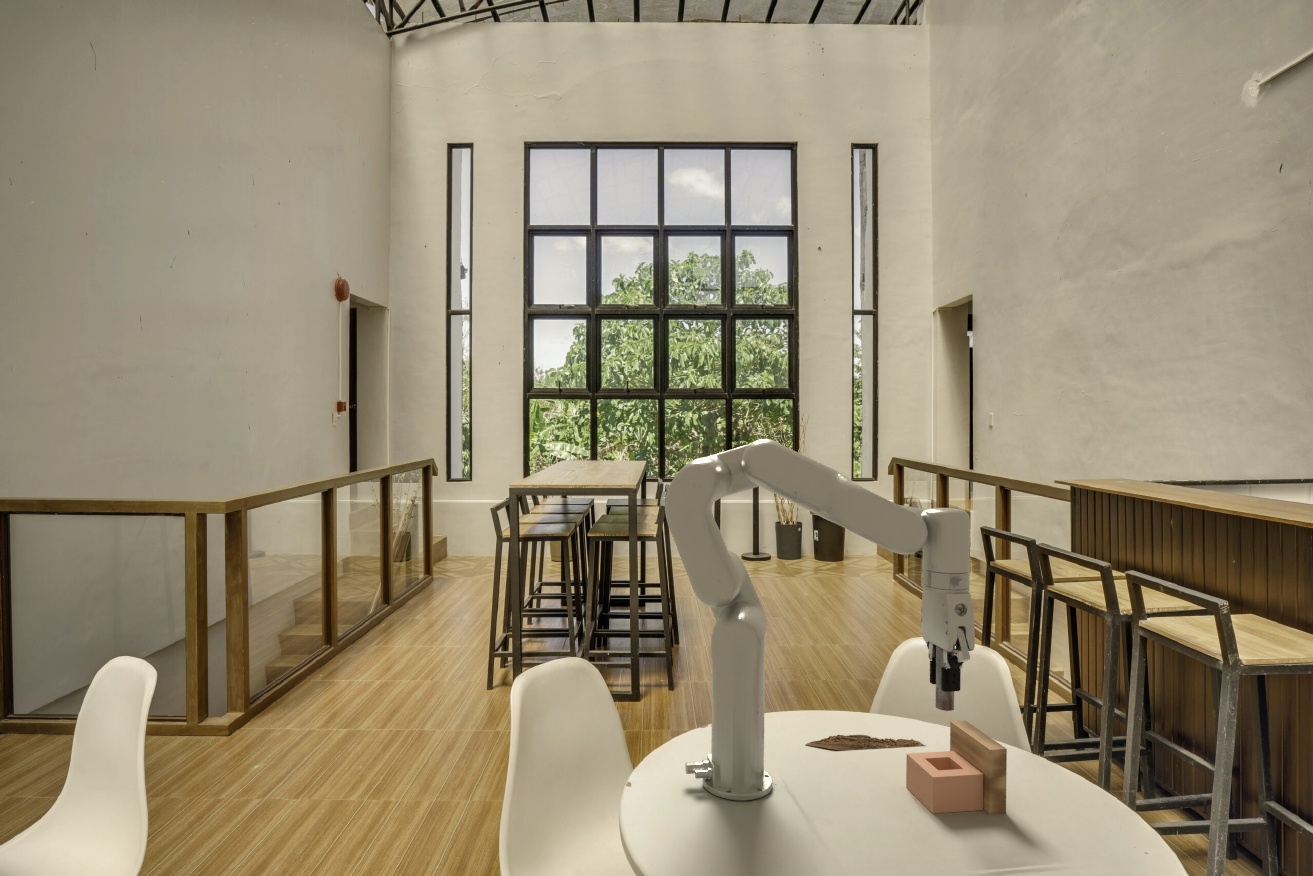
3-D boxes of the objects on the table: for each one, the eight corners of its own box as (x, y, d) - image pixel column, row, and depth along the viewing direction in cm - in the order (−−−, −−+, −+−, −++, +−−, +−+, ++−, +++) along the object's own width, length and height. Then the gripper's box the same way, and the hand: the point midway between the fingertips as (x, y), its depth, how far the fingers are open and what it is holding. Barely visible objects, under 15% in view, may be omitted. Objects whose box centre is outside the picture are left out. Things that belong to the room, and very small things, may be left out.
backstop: (989, 816, 120) (990, 749, 120) (949, 782, 132) (950, 721, 132) (1005, 815, 121) (1006, 748, 121) (965, 781, 133) (965, 720, 133)
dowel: (941, 711, 124) (941, 640, 124) (932, 704, 127) (932, 635, 127) (957, 710, 124) (958, 640, 124) (948, 704, 127) (948, 635, 127)
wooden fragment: (931, 743, 152) (931, 738, 152) (942, 767, 141) (942, 761, 141) (805, 733, 157) (805, 728, 157) (806, 755, 146) (806, 750, 146)
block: (932, 813, 120) (933, 777, 120) (906, 787, 129) (906, 753, 129) (982, 810, 122) (983, 774, 122) (953, 784, 131) (953, 751, 131)
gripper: (994, 589, 118) (993, 703, 118) (940, 571, 134) (939, 671, 134) (951, 591, 117) (950, 705, 117) (902, 572, 133) (901, 672, 133)
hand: (944, 686), depth 126 cm, fingers closed on dowel, 3 cm apart
